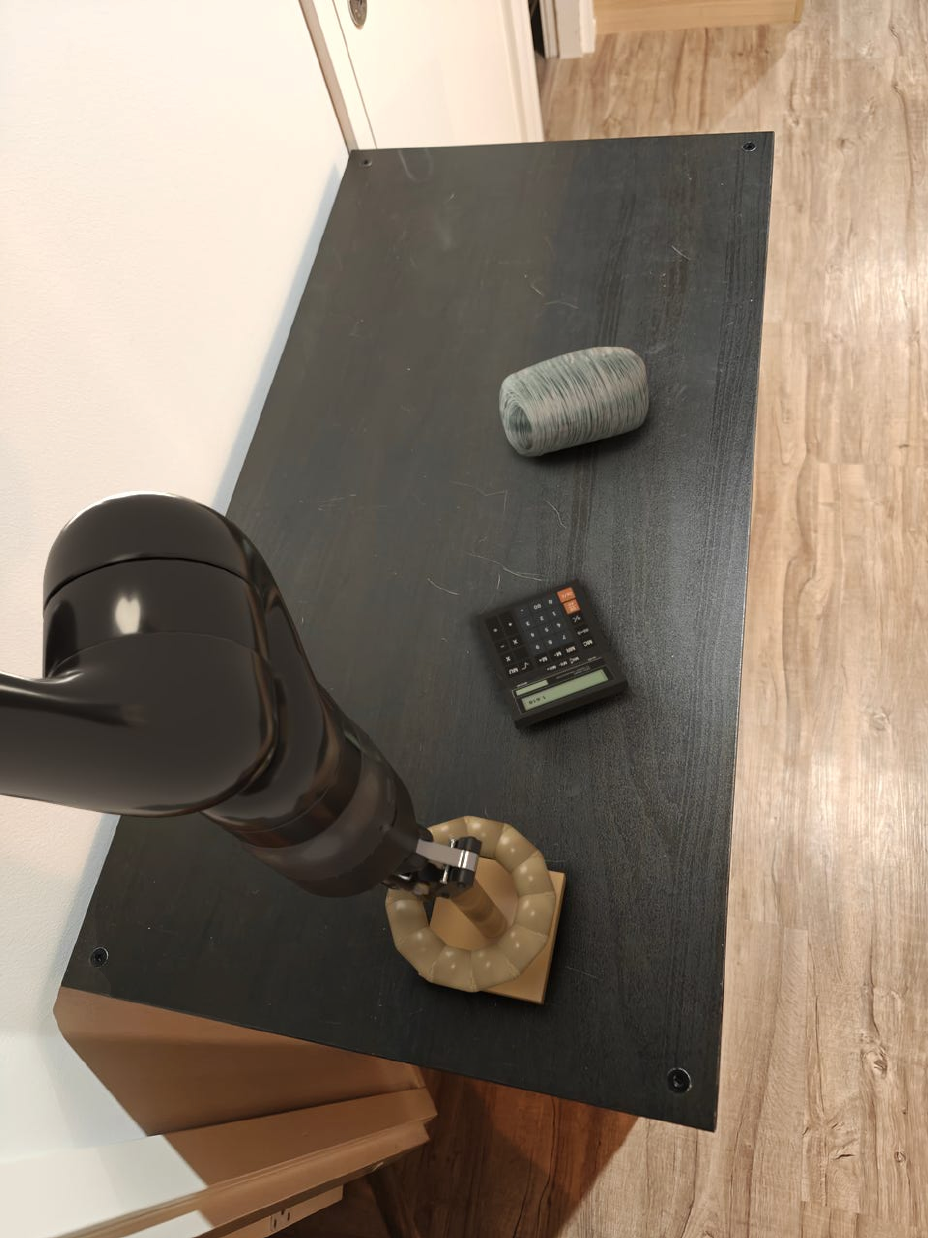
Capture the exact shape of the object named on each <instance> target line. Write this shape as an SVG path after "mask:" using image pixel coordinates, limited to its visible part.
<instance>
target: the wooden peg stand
mask: <svg viewBox="0 0 928 1238" xmlns="http://www.w3.org/2000/svg"><path fill="white" fill-rule="evenodd" d="M548 872H549V875H550V878H551V881H552V883H553V886H554V889H555V893H556V905H555V911H554V916H553V921H552V926H551V932H550V937H549V941H548V943H547V945H546V946H545V947H544V949H543V950H542V951H541V952H540V953H539V954H538V956H537V957H536V958H535V959H534V960H533V961H532V963H531V964H530V965H529V966H528V967H527V968H526V970H525V971H524V972H523V973H522V974H521V975H520V976H519V977H518V978H516V979H515V980H512V981H509V982H506V983H503V984H500V985H497V986H494V987H491V988H488V989H484V990H481V991H480V992H485V993H488V994H489V993H490V994H494V995H498V996H502V997H506V998H510V999H515V1000H518V1001H519V1000H520V1001H525V1002H529V1003H531V1004H532V1003H533V1004H537V1005H542V1006H543V1005H544V1004H545V1000H546V994H547V988H548V983H549V977H550V971H551V966H552V965H551V964H552V960H553V955H554V949H555V944H556V937H557V931H558V927H559V922H560V917H561V910H562V906H563V905H562V904H563V898H564V892H565V889H566V882H567V877H566V874H565V873H564V872H559V871H553V870H549V869H548ZM517 904H518V896H517V892H516V889H515V886H514V883H513V880H512V877H511V875H510V874H509V873H508V872H507V871H506V870H505V869H504V868H503V867H502V866H501V865H500V864H499V863H497V862H496V861H495V860H494V859H492V858H487V857H482V856H479V861H478V865H477V870H476V873H475V878H474V883H473V887H472V888H471V889H469V890H467V891H466V892H464V893H463V894H461V895H459V896H458V897H456V898H449V899H444V898H441V897H435V901H434V906H433V909H432V915H431V919H430V922H429V927H430V928H431V929H432V930H433V931H434V932H435V933H436V934H437V935H438V936H439V937H440V938H441V939H442V940H443V941H444V942H445V943H446V944H447V945H450V946H454V947H458V948H462V949H466V950H470V951H473V950H476V949H479V948H482V947H485V946H488V945H491V944H495V943H497V942H498V940H499V939H500V938H501V937H502V936H503V935H504V934H505V932H506V931H507V930H508V929H509V928H510V927H511V926H512V925H513V923H514V918H515V913H516V908H517ZM418 975H419V976H420V977H422V978H424V977H423V976H422V975H421V974H420V973H419V972H418Z"/></svg>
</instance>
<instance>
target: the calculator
mask: <svg viewBox="0 0 928 1238" xmlns="http://www.w3.org/2000/svg"><path fill="white" fill-rule="evenodd" d="M475 620H476V622H477V625H478V629H479V631H480V634H481V637H482V639H483V642H484V644H485V647H486V650H487V652H488V656H489V658H490V661H491V663H492V666H493V669H494V671H495V674H496V677H497V680H498V682H499V686H500V688H501V691H502V693H503V696H504V699H505V701H506V705H507V707H508V710H509V713H510V716H511V718H512V720H513V724H514V726H515V728H516V730H519V729H522V728H525V727H528V726H531V725H534V724H536V723H538V722H541V721H544V720H547V719H549V718H553V717H555V716H558V715H560V714H563V713H566V712H568V711H571V710H574V709H576V708H577V709H578V708H579V707H583V706H585V705H587V704H591V703H593V702H596V701H599V700H601V699H604V698H607V697H611V696H612V695H615V694H618V693H621V692H623V691H626V690H629V689H630V686H629V682H628V679H627V677H626V675H625V674H624V672H623V671H622V669H621V667H620V666H619V664H618V662H617V661H616V659H615V656H614V655H613V653H612V652H611V650H610V648H609V645H608V643H607V641H606V639H605V636H604V634H603V631H602V630H601V628H600V625H599V623H598V621H597V618H596V616H595V614H594V611H593V609H592V607H591V605H590V603H589V600H588V599H587V596H586V594H585V591H584V589H583V586H582V584H581V583H580V580H579V578H577V579H575V580H571V581H568V582H566V583H563V584H561V585H557V586H555V587H552V588H549V589H547V590H544V591H541V592H537V593H535V594H533V595H531V596H527V597H525V598H522V599H519V600H517V601H513V602H511V603H508V604H506V605H503V606H500V607H497V608H495V609H491V610H489V611H487V612H484V613H481V614H479V615H475Z"/></svg>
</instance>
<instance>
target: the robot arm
mask: <svg viewBox="0 0 928 1238" xmlns="http://www.w3.org/2000/svg"><path fill="white" fill-rule="evenodd" d="M42 580H43V581H42V661H41V662H42V663H41V664H42V667H41V668H42V670H41V672H42V673H41V677H32V676H25V675H20V674H16V673H12V672H8V671H5V670H2V669H0V796H4V797H10V798H17V799H23V800H29V801H35V802H41V803H46V804H50V805H56V806H61V807H66V808H71V809H72V808H73V809H78V810H83V811H89V812H94V813H100V814H104V815H105V814H106V815H113V816H122V817H123V816H124V817H132V818H143V819H144V818H145V819H161V818H176V817H182V816H187V815H192V814H196V813H199V814H200V815H201V816H203V817H204V818H205V819H207V820H208V821H210V822H212V823H213V824H215V825H216V826H218V827H220V828H221V829H222V830H224V831H226V832H227V833H229V834H230V835H231V836H232V838H233V839H235V841H236V842H237V843H238V844H239V845H240V847H242V849H243V850H245V851H246V852H247V853H248V854H250V855H251V856H252V857H253V858H255V859H256V860H258V861H259V862H261V863H262V864H264V865H265V866H267V867H268V868H270V869H271V870H273V871H274V872H276V873H277V874H279V875H281V877H284V878H285V879H287V880H288V881H289V882H292V883H293V884H294V885H296V886H297V887H299V888H301V889H303V891H306V892H308V893H310V894H312V895H316V896H318V897H323V898H330V899H342V898H343V899H344V898H348V897H354V896H357V895H361V894H363V893H366V892H368V891H372V892H374V891H375V890H376V888H377V886H379V885H380V884H381V885H383V886H384V887H387V888H388V889H389V888H390V889H393V890H399V891H405V892H411V893H412V894H413V895H414V896H416V897H417V898H418V899H419V900H420V901H423V903H424V902H425V903H432V902H433V900H434V897H435V898H436V897H441V898H444V899H449V898H456V897H458V896H459V895H461V894H463V893H464V892H466V891H467V890H469V889H471V888H472V887H473V883H474V878H475V873H476V870H477V865H478V861H479V857H481V856H480V851H481V847H482V841H480V840H478V839H477V838H475V837H472V836H468V837H461V838H459V839H458V840H457V839H454V838H450V839H449V843H448V846H445V845H441V844H438V843H434V838H433V835H432V833H431V832H430V831H429V830H428V829H427V828H428V827H426V826H423V825H422V824H419V823H418V822H417V819H416V815H415V811H414V804H413V801H412V798H411V796H410V793H409V790H408V788H407V786H406V784H405V783H404V781H403V779H402V778H401V776H400V775H399V774H398V773H397V771H396V770H395V769H394V768H393V766H392V765H391V764H390V762H389V760H388V759H387V758H386V757H385V756H384V754H383V753H382V752H381V750H380V749H379V748H378V746H377V745H376V744H375V742H374V741H373V740H372V738H371V737H370V736H369V735H368V734H367V732H366V731H365V730H364V729H363V728H362V727H361V726H360V725H359V724H358V723H357V722H355V721H354V720H353V719H352V718H350V717H348V716H347V715H346V713H345V712H344V711H343V709H342V708H341V707H340V706H339V704H338V703H337V701H336V700H335V699H334V698H333V697H332V695H331V694H330V693H329V692H328V691H327V690H326V689H325V687H324V686H322V684H321V683H320V682H319V681H318V679H317V677H316V675H315V673H314V670H313V668H312V666H311V663H310V660H309V659H308V656H307V654H306V651H305V649H304V646H303V643H302V640H301V638H300V636H299V635H300V634H299V632H298V630H297V627H296V625H295V622H294V620H293V618H292V616H291V613H290V610H289V609H288V606H287V604H286V602H285V600H284V596H283V594H282V592H281V590H280V588H279V586H278V584H277V582H276V579H275V578H274V575H273V573H272V571H271V569H270V567H269V566H268V564H267V562H266V560H265V559H264V557H263V555H262V554H261V552H260V550H259V549H258V547H257V546H256V545H255V544H254V543H253V541H252V540H251V539H250V538H249V537H248V536H247V534H246V533H245V532H244V531H243V530H242V529H241V528H240V527H238V526H237V524H236V523H234V522H233V521H232V520H230V519H229V518H228V517H226V516H225V515H223V514H222V513H220V512H218V511H217V510H215V509H214V508H212V507H210V506H208V505H206V504H204V503H202V502H200V501H197V500H195V499H193V498H190V497H187V496H184V495H179V494H176V493H171V492H166V491H158V490H136V491H127V492H120V493H116V494H112V495H109V496H107V497H103V498H101V499H98V500H96V501H94V502H92V503H91V504H89V505H87V506H86V507H84V508H83V509H81V510H80V511H79V512H78V513H77V514H75V515H73V516H72V518H71V519H69V521H68V522H66V523H65V524H64V526H63V527H62V529H61V530H60V532H59V533H58V535H57V536H56V538H55V540H54V541H53V543H52V545H51V547H50V550H49V552H48V556H47V560H46V564H45V568H44V573H43V579H42Z"/></svg>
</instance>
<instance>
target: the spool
mask: <svg viewBox="0 0 928 1238" xmlns="http://www.w3.org/2000/svg"><path fill="white" fill-rule="evenodd" d="M646 371H647V370H646V365H645V364H644V362H643V359H642V358H641V357H640V356H639V355H638V354H637V353H635V352H634V351H633V350H632V349H631V348H626V347H622V346H610V345H609V346H595V347H590V348H586V349H581V350H575V351H572V352H567V353H564V354H560V355H558V356H554V357H552V358H549V359H546V360H543V361H540V362H538V363H536V364H533V365H530V366H527V367H525V368H522V369H521V370H519V371H517V372H514V373H513V372H512V373H511V374H510V375H508V376H507V377H506V378H505V379H504V380H503V382H502V384H501V386H500V390H499V395H498V408H499V416H500V421H501V425H502V428H503V430H504V433H505V436H506V438H507V440H508V443H509V444H510V445H511V446H512V448H513V449H514V450H515V451H516V452H517V453H518V454H519V455H521V456H523V457H525V458H526V457H542V456H543V455H545V454H547V453H552V452H557V451H560V450H563V449H568V448H572V447H576V446H580V445H583V444H587V443H593V442H596V441H597V442H598V441H600V440H604V439H609V438H613V437H614V436H618V435H623V434H626V433H629V432H631V431H634V430H635V429H637V428H640V426H642V425H643V424H644V422H645V419H646V417H647V414H648V411H649V404H650V400H649V385H648V376H647V372H646Z"/></svg>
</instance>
